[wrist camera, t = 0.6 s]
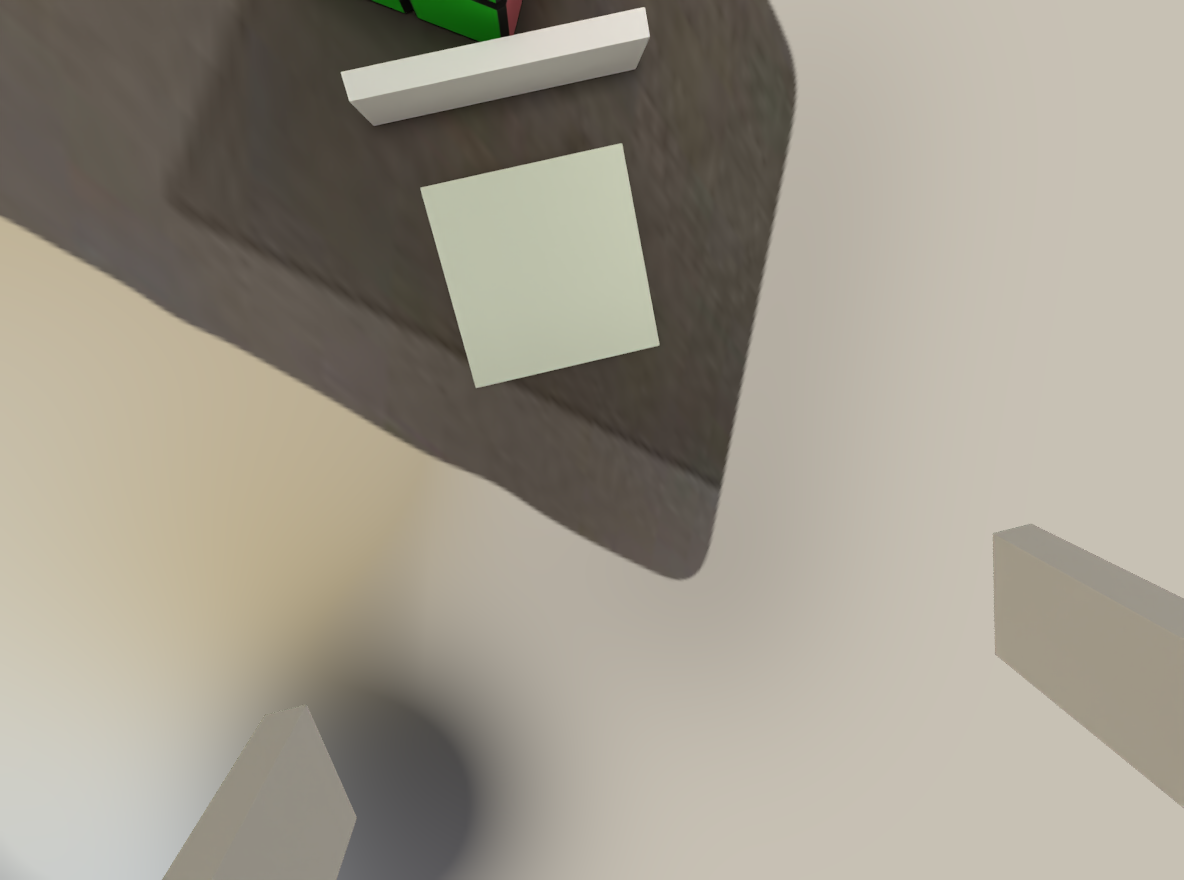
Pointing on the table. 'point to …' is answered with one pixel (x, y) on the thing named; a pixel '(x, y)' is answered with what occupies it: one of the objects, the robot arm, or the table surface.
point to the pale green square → (543, 264)
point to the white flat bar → (498, 67)
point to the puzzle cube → (465, 15)
